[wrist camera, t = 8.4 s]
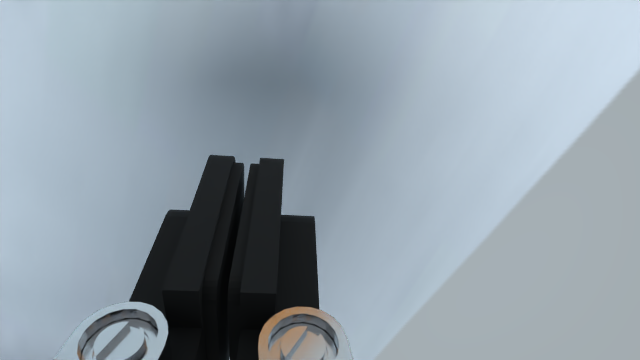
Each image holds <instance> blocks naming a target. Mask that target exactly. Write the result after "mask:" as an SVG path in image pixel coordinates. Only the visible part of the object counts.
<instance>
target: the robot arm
mask: <svg viewBox="0 0 640 360" xmlns="http://www.w3.org/2000/svg"><path fill="white" fill-rule="evenodd" d="M283 168H284V159H269V158H260V164H251V165H250V170H249V175H248V181H247V186H246V191H245V197H244V164H243V163H235V157H234V156H218V155H210V156H209V158H208V161H207V163H206V166H205V169H204V172H203V175H202V178H201V180H200V183H199V186H198V189H197V192H196V194H195V197H194V200H193V203H192V206H191V209H190V211H189V210H169V211H168V213H167V214H166V216H165V218H164V221H163V223H162V225H161V228H160V230H159V233H158V235H157V237H156V240H155V242H154V244H153V247H152V249H151V251H150V254H149V256H148V258H147V261H146V263H145V265H144V268H143V270H142V272H141V275H140V277H139V279H138V282H137V284H136V286H135V289H134V291H133V294H132V296H131V298H130V301H129V302H123V303H118V304H113V305H110V306H108V307H105V308H103V309H101V310H98V311H96V312H95V313H94V314H92V315H91V316H89V317H88V318H86V319H85V320H84V321H83V322H82V323H81V324H80V325H79V326H78V327H77V328H76V329H75V330H74V331H73V333H72V334H71V336H70V337H69V338H68V340H67V341H66V343H65V344H64V345H63V347H62V348H61V350H60V351H59V352H58V354H57V355H56V357H55V358H54V359H53V360H229V356H230V360H353V356H352V353H351V349H350V345H349V342H348V338H347V336H346V334H345V332H344V330H343V328H342V326H341V325H340V324H339V323H338V322H337V321H336V319H335V318H334V317H332V316H330V315H329V314H327V313H326V312H324V311H322V310H319V294H318V274H317V254H316V234H315V218H314V216H294V215H281V205H282V186H283Z"/></svg>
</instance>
